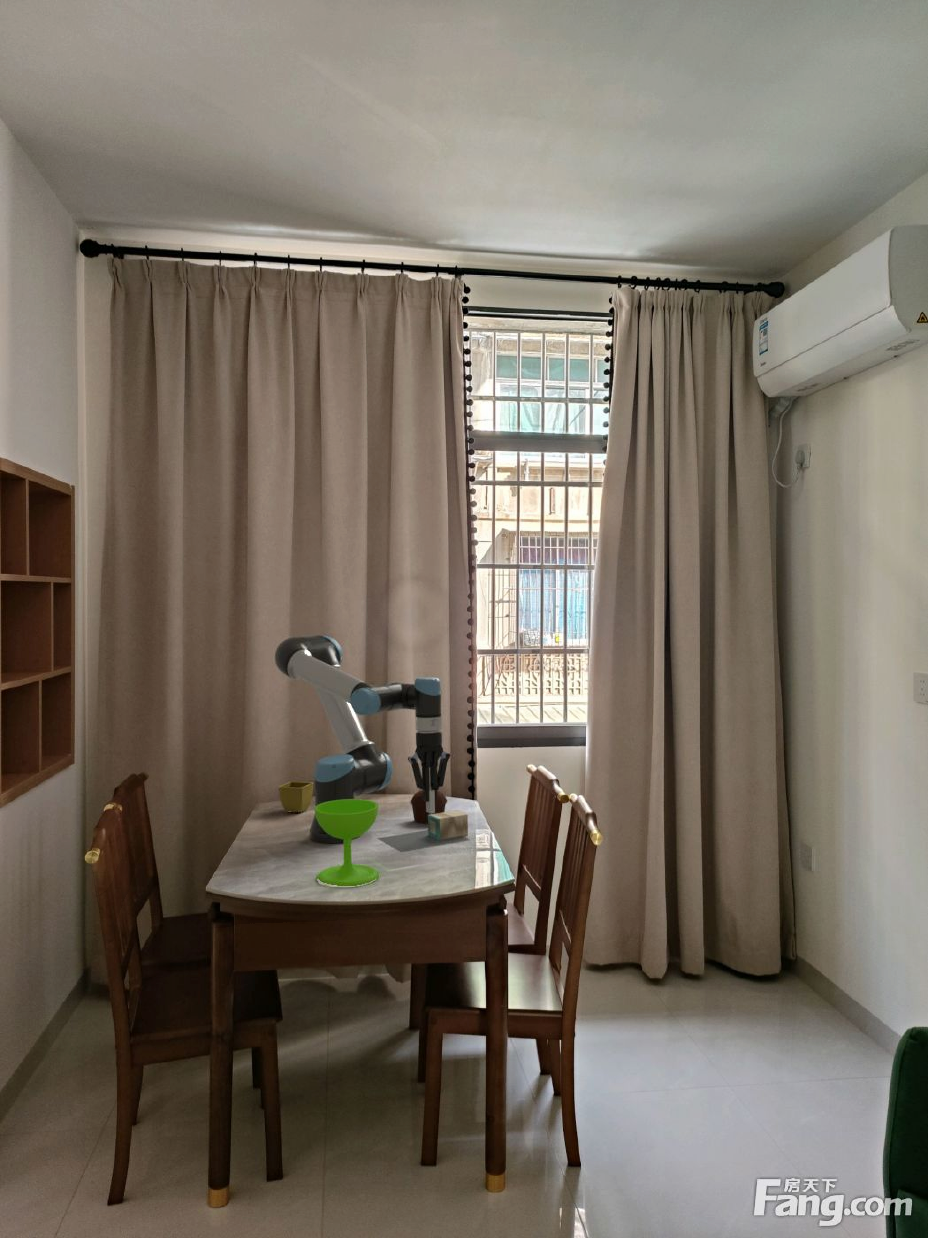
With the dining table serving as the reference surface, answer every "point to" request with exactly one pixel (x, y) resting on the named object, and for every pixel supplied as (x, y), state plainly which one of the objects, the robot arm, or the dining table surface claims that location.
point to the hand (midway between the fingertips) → (430, 812)
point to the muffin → (420, 806)
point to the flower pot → (296, 796)
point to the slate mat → (418, 841)
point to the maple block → (447, 824)
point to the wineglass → (347, 838)
